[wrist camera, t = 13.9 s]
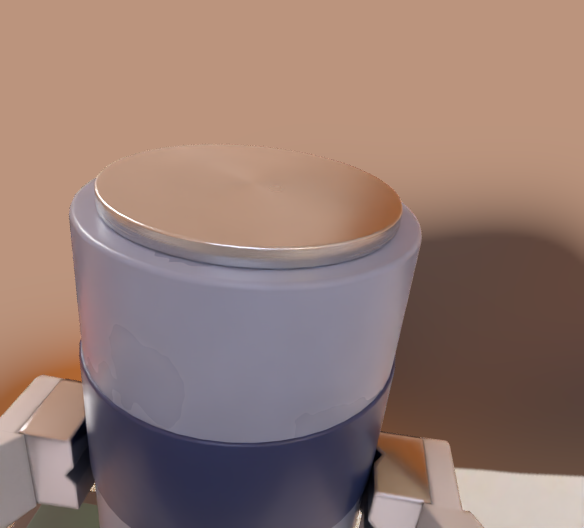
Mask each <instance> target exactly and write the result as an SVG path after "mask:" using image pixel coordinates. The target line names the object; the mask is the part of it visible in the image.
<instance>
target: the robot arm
mask: <svg viewBox="0 0 584 528" xmlns="http://www.w3.org/2000/svg"><path fill="white" fill-rule="evenodd" d="M94 482H95V480H94V477H93V474H92V468H91V463H90V455H89V446H88V436H87V426H86V416H85V406H84V397H83V387H82V382H81V381H75V380H70V379H62V378H57V377H52V376H46V375H41V376H39V377H37V378H35V379H34V380H33V382H32V383H31V384H30V385H29V386H28V387H27V388H26V390H25V391H24V392H23V393H22V394H21V395H20V396H19V397H18V398H17V399H16V401H14V403H13V404H12V405H11V406H10V407H9V408H8V409H7V410H6V412H5V413H4V414H3V415H2V416H1V417H0V528H7V527H8V526H9V525H11V524H12V523H14V522H15V521H16V520H18V519H19V518H20V517H22V516H23V515H25V514H26V513H27V512H29V511H30V510H31V509H33V508H34V507H36V503H38V504H45V505H51V506H58V507H65V508H71V509H78V510H79V508H80V506H81V505H82V503H83V501H84V500H85V498H86V496H87V494H88V493H89V491H90V489H91V487H92V486H93V484H94ZM360 511H361V512H362V516H361V521H360V525H359V528H484V527H483V526H482V525H481V523H480V522H479V521H478V520H477V519H476V518H475V516H474V515H473V514H472V513H471V512H470V511H464V510H462V505H461V500H460V495H459V490H458V485H457V480H456V475H455V470H454V465H453V460H452V455H451V450H450V445H449V444H448V442H447V441H443V440H436V439H430V438H423V437H422V438H420V437H415V436H408V435H401V434H396V433H389V432H383V431H380V434H379V439H378V443H377V447H376V451H375V456H374V460H373V464H372V468H371V472H370V476H369V480H368V482H367V485H366V487H365V489H364V491H363V495H362V500H361V504H360Z"/></svg>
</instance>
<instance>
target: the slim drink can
mask: <svg viewBox="0 0 584 528" xmlns="http://www.w3.org/2000/svg"><path fill="white" fill-rule="evenodd" d="M69 220H70V230H71V241H72V250H73V261H74V271H75V280H76V291H77V302H78V311H79V321H80V332H81V340H80V355H79V357H80V366H81V377H82V387H83V397H84V406H85V416H86V426H87V436H88V446H89V455H90V463H91V468H92V474H93V477H94V480H95V485H96V495H97V505H98V516H99V526H100V528H355V526H356V522H357V517H358V513H359V509H360V504H361V500H362V495H363V491H364V489H365V487H366V485H367V482H368V480H369V476H370V472H371V468H372V464H373V460H374V456H375V451H376V447H377V443H378V439H379V434H380V430H381V426H382V422H383V417H384V413H385V409H386V404H387V400H388V396H389V392H390V387H391V383H392V378H393V375H394V370H395V352H396V348H397V344H398V339H399V335H400V330H401V326H402V322H403V317H404V313H405V309H406V305H407V300H408V296H409V292H410V287H411V282H412V279H413V274H414V270H415V265H416V261H417V257H418V252H419V248H420V243H421V240H422V237H421V228H420V225H419V222H418V220H417V218H416V217H415V215H414V214H413V212H412V211H411V210H410V209H409V208H408V207H407V206H406V205H405V204H404V203H402V202H401V200H400V197H399V196H398V195H397V193H396V192H395V191H394V190H393V189H392V188H391V187H390V186H389V185H388V184H386V183H385V182H383V181H382V180H380V179H379V178H377V177H375V176H373V175H371V174H369V173H367V172H365V171H362V170H361V169H358V168H356V167H353V166H350V165H348V164H345V163H342V162H339V161H335V160H332V159H328V158H325V157H320V156H317V155H312V154H308V153H303V152H297V151H292V150H286V149H279V148H271V147H262V146H251V145H250V146H249V145H233V144H200V145H199V144H198V145H183V146H173V147H166V148H159V149H154V150H149V151H144V152H140V153H137V154H133V155H130V156H127V157H124V158H122V159H119V160H117V161H115V162H113V163H111V164H110V165H108V166H107V167H105V168H104V169H103V170H102V171H101V172H100V173H99V174H98V176H97V178H95V179H93V180H91V181H90V182H88V183H87V184H86V185H84V186H83V187H82V188H81V189H80V190H79V191H78V192H77V193H76V194H75V196H74V198H73V201H72V203H71V205H70V211H69Z"/></svg>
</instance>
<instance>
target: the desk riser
mask: <svg viewBox="0 0 584 528" xmlns="http://www.w3.org/2000/svg"><path fill="white" fill-rule="evenodd" d="M11 528H100V526H99V516H98V505H97V495H96V492H92V491H89V493H88V494H87V496H86V498H85V500H84V501H83V503H82V505H81V506H80V508H79V510H78V509H71V508H65V507H58V506H51V505H45V504H38V503H36V507H34V508H33V509H31V510H30V511H29V512H27V513H26V514H25V515H23V516H22V517H20V518H19V519H18V520H16V522H15V523H14V525H13V526H12V527H11Z"/></svg>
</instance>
